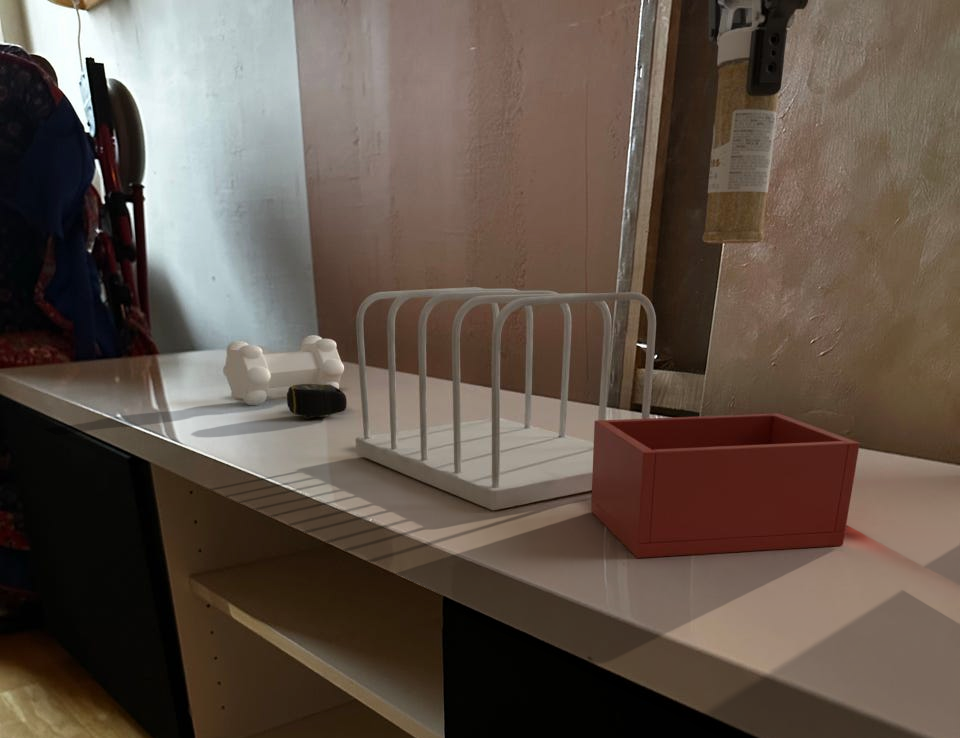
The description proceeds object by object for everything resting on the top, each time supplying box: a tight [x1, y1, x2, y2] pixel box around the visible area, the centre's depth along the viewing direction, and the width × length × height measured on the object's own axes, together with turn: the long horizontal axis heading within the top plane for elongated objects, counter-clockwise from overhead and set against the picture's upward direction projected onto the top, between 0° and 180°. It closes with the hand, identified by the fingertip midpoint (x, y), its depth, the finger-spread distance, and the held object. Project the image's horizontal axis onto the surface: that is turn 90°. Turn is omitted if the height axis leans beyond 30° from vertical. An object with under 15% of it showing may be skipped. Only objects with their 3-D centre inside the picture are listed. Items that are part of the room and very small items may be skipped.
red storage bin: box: [590, 412, 861, 559], centre depth 62 cm, size 15×12×7 cm
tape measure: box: [286, 384, 348, 420], centre depth 108 cm, size 7×7×4 cm
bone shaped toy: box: [222, 334, 345, 406], centre depth 121 cm, size 15×9×8 cm, turn 132°
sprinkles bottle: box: [702, 27, 787, 244], centre depth 63 cm, size 5×5×14 cm
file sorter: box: [355, 287, 657, 511], centre depth 78 cm, size 25×17×16 cm
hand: (747, 99), depth 62 cm, fingers closed on sprinkles bottle, 4 cm apart
